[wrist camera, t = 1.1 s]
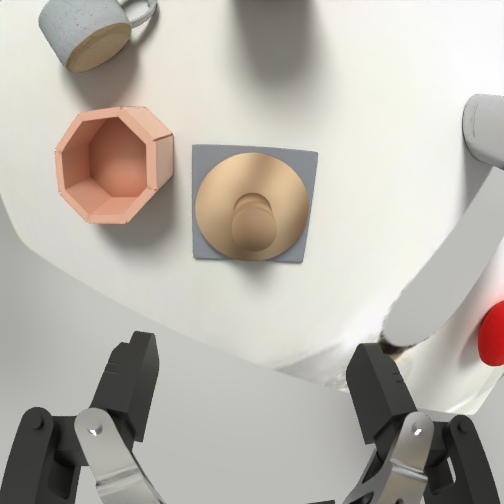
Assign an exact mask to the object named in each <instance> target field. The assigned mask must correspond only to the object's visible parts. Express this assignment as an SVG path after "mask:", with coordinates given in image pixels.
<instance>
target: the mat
mask: <svg viewBox="0 0 504 504" xmlns="http://www.w3.org/2000/svg"><path fill="white" fill-rule="evenodd" d="M247 152H257V153H264V154H268V155H271V156H274V157H276V158H278V159H280V160H282V161H283V162H285V163H286V164H287V165H289V166H290V167H291V168H292V169H293V170H294V171H295V172H296V174H297V175H298V176H299V178H300V179H301V180H302V182H303V184H304V186H305V189H306V192H307V195H308V200H309V214H308V219H307V223H306V225H305V228H304V230H303V232H302V234H301V235H300V237H299V238H298V239H297V241H296V242H295V243H294V244H293V245H292V246H291V247H289V248H288V249H287V250H286V251H284V252H283V253H281V254H279V255H277V256H275V257H272V258H269V259H265V260H266V261H293V262H303V257H304V251H305V245H306V239H307V232H308V226H309V219H310V212H311V205H312V198H313V191H314V183H315V175H316V167H317V159H318V152H312V151H303V150H293V149H282V148H270V147H255V146H236V145H192V232H193V258H216V259H234V258H231V257H228V256H226V255H224V254H222V253H221V252H219V251H217V250H216V249H215V248H214V247H213V246H211V245H210V243H209V242H208V241H207V240H206V239H205V237H204V236H203V234H202V233H201V231H200V229H199V226H198V223H197V219H196V213H195V203H196V197H197V193H198V190H199V188H200V186H201V184H202V182H203V180H204V178H205V177H206V175H207V174H208V173H209V172H210V171H211V169H212V168H213V167H214V166H216V165H217V164H218V163H219V162H221V161H223V160H224V159H226V158H228V157H231V156H233V155H237V154H240V153H247Z"/></svg>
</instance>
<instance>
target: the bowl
mask: <svg viewBox="0 0 504 504" xmlns="http://www.w3.org/2000/svg"><path fill="white" fill-rule="evenodd" d="M173 136H174V135H172V132H171V131H170V130H169V129H168V128H167V127H166V126H165V125H164V124H163V123H162V122H161V121H160V120H159V119H158V118H157V117H156V116H155V115H154V114H153V113H152V112H151V111H150V110H149V109H147V108H145V107H113V108H106V109H99V110H93V111H87V112H81V113H80V114H78V115H77V116H76V118H75V119H74V121H73V122H72V124H71V125H70V127H69V128H68V130H67V131H66V133H65V134H64V136H63V137H62V139H61V140H60V142H59V143H58V145H57V147H56V148H55V149H56V151H55V162H56V173H57V182H58V191H59V192H61V193H60V195H61V197H62V198H63V199H64V200H65V201H66V202H67V203H68V204H69V205H70V206H71V207H72V208H73V209H74V210H75V211H76V212H77V213H78V214H79V215H80V216H81V217H82V218H83V219H84V220H85V221H86V222H88V221H89V223H106V224H126V223H127V222H129V221H130V220H131V219H132V218H133V217H134V216H135V215H136V214H137V213H138V212H139V211H140V209H141V208H142V207H143V206H144V205H145V204H146V203H147V202H148V201H149V200H150V199H151V198H152V197H153V196H154V195H155V194H156V192H157V191H158V190H159V189H160V188H161V187H162V186H163V185H164V184H165V183H166V182H167V181H168V180H169V179H170V178H171V177H172V174H173Z"/></svg>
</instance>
